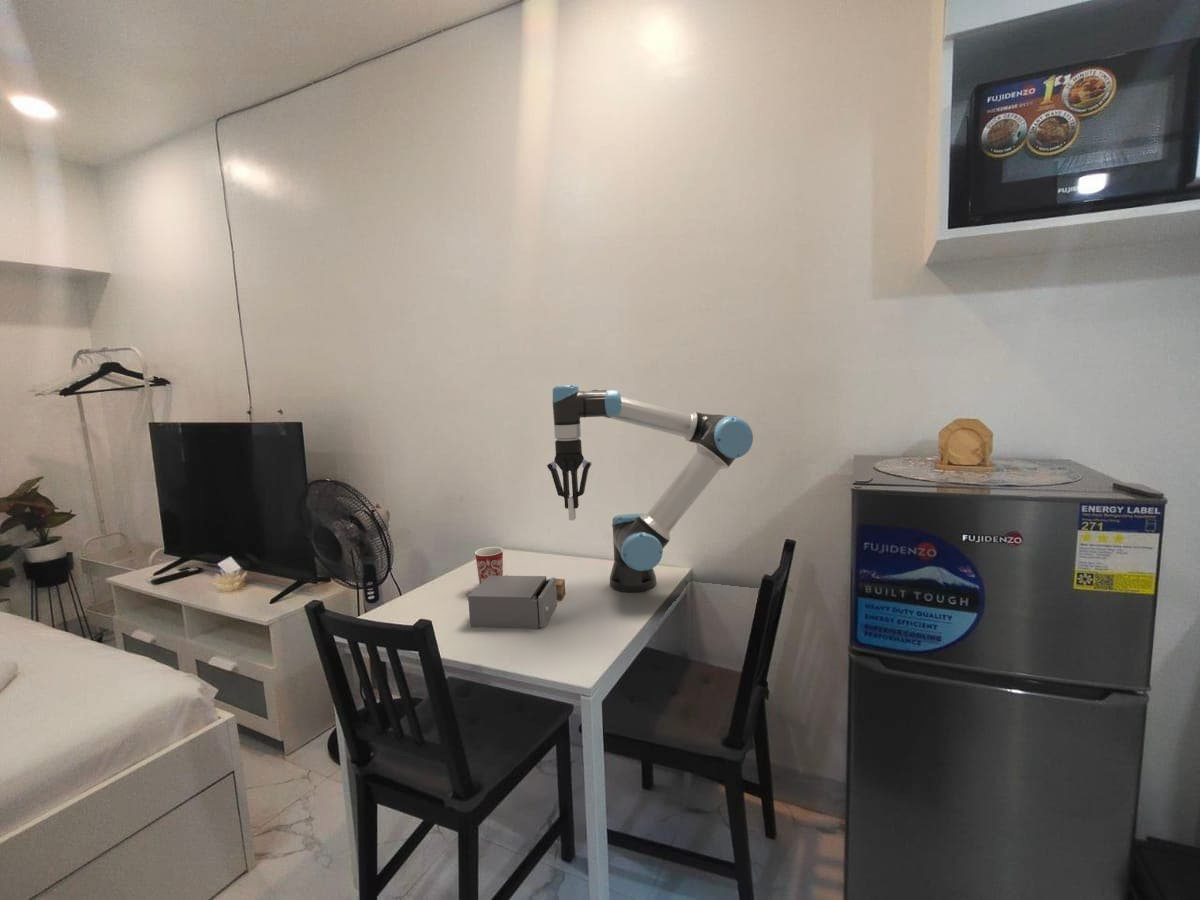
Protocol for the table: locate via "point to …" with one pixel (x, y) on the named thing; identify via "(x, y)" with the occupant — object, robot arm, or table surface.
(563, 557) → the table surface
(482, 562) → the mug
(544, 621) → the tray
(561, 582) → the brown wooden cube
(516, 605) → the housing
